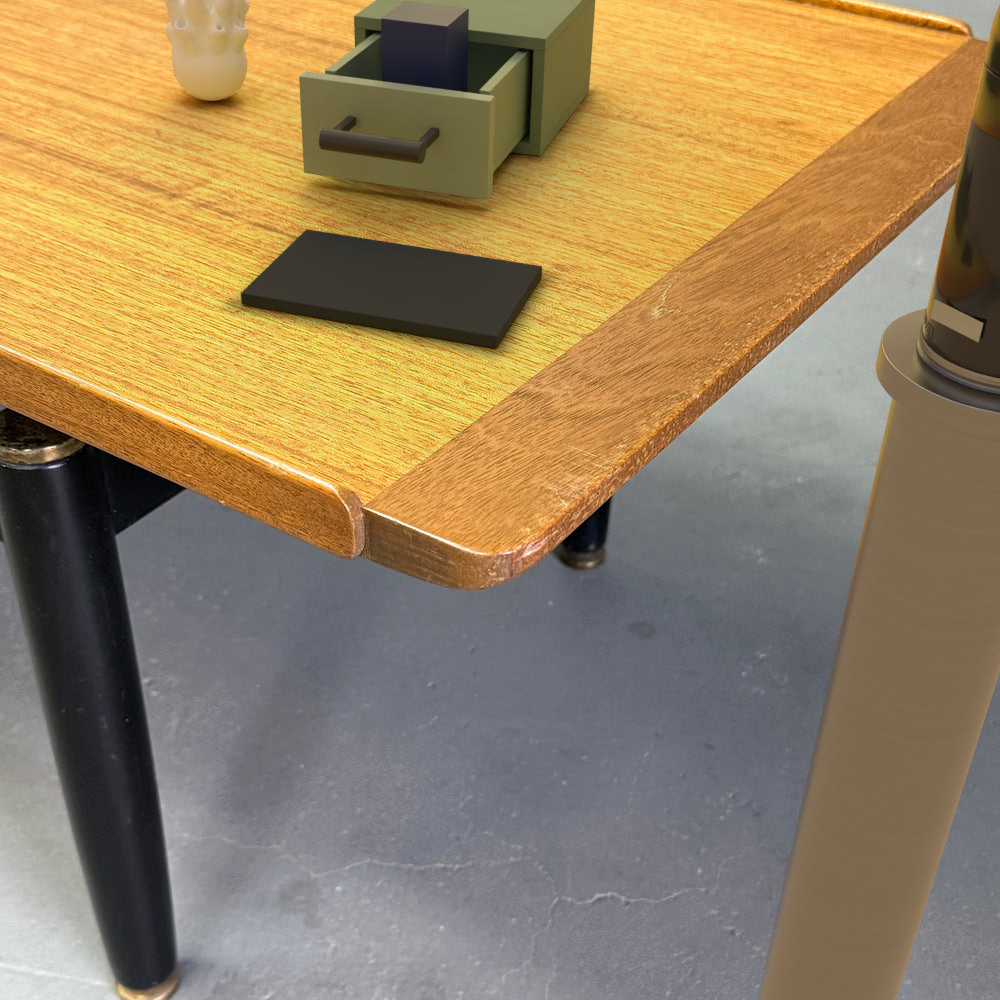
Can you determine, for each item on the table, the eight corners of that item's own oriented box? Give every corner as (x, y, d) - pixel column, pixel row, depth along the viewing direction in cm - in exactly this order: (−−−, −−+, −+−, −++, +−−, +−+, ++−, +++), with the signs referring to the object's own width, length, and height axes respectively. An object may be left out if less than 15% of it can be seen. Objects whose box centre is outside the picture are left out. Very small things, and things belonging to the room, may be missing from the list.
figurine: (172, 84, 116) (156, -68, 109) (253, 82, 117) (243, -69, 110) (171, 113, 110) (155, -46, 103) (257, 110, 111) (246, -47, 104)
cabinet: (539, 156, 105) (546, 38, 100) (356, 131, 108) (353, 15, 103) (589, 92, 117) (596, -15, 112) (423, 71, 121) (423, -34, 116)
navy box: (466, 132, 103) (469, 8, 98) (446, 154, 99) (447, 26, 94) (405, 124, 104) (404, 0, 99) (382, 145, 100) (380, 18, 95)
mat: (541, 277, 88) (542, 265, 87) (496, 348, 80) (497, 336, 79) (307, 240, 91) (306, 228, 91) (241, 305, 83) (240, 292, 83)
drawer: (466, 226, 91) (468, 124, 88) (275, 197, 94) (269, 97, 90) (543, 130, 107) (547, 40, 103) (376, 108, 110) (375, 19, 106)
